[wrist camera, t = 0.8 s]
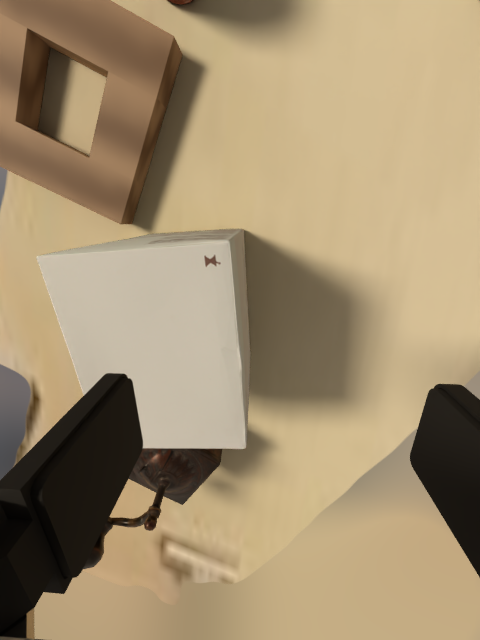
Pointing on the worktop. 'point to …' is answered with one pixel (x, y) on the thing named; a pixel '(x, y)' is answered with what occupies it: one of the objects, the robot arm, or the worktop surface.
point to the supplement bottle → (180, 1)
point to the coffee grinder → (163, 484)
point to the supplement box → (162, 329)
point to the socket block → (116, 107)
